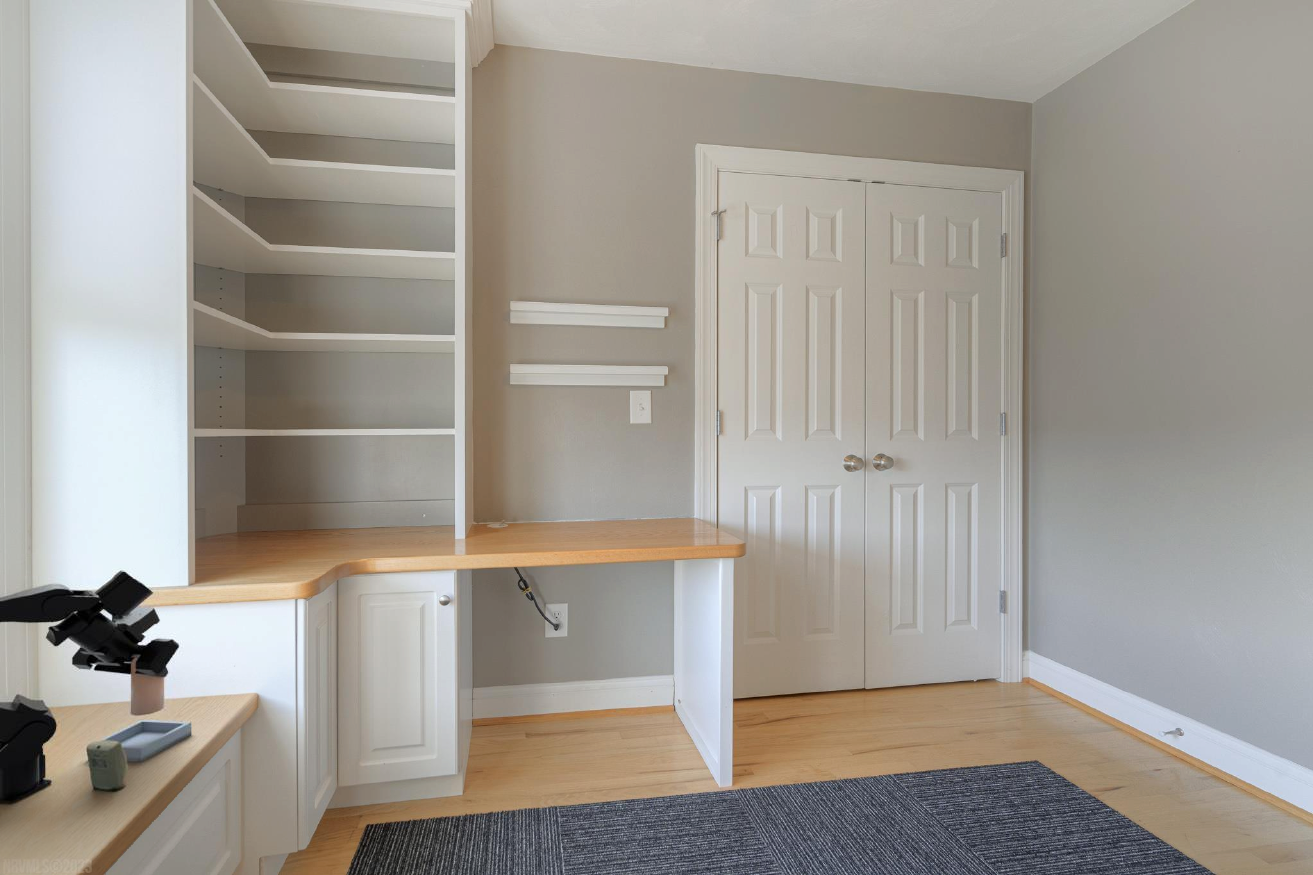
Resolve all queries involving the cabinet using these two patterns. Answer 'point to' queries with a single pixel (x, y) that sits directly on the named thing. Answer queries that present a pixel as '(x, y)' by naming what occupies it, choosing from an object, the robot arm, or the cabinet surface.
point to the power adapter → (107, 765)
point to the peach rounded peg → (146, 692)
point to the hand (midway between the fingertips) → (154, 673)
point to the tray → (149, 737)
